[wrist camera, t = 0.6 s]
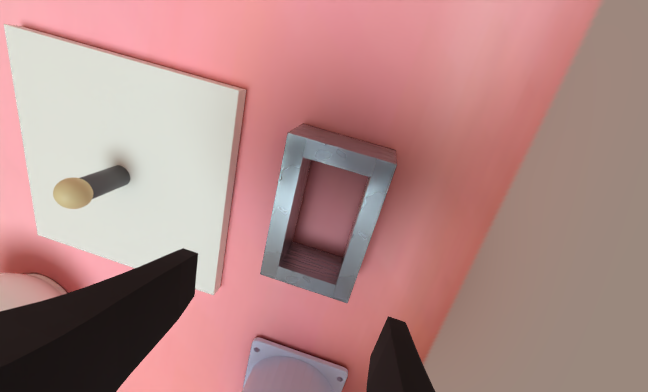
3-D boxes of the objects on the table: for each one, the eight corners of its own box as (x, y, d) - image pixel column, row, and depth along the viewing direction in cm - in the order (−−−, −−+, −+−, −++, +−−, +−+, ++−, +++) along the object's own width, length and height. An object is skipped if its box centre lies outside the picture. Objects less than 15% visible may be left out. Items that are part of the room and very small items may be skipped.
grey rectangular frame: (352, 273, 21) (347, 303, 19) (276, 248, 22) (260, 274, 19) (395, 150, 18) (396, 164, 15) (302, 123, 18) (287, 132, 15)
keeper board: (220, 286, 24) (178, 340, 19) (50, 229, 25) (-30, 265, 20) (246, 89, 18) (194, 95, 13) (21, 26, 19) (-101, 10, 14)
